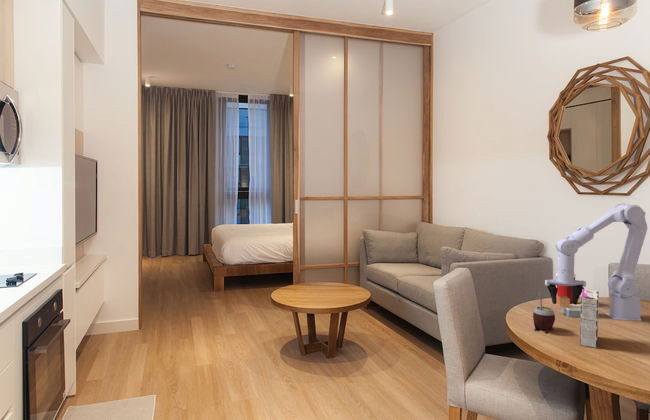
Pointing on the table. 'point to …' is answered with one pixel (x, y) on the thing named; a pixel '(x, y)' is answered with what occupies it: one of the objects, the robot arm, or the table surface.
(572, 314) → the tub
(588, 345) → the candy bar box
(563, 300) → the lid
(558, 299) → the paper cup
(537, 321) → the mate gourd
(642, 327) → the table surface
